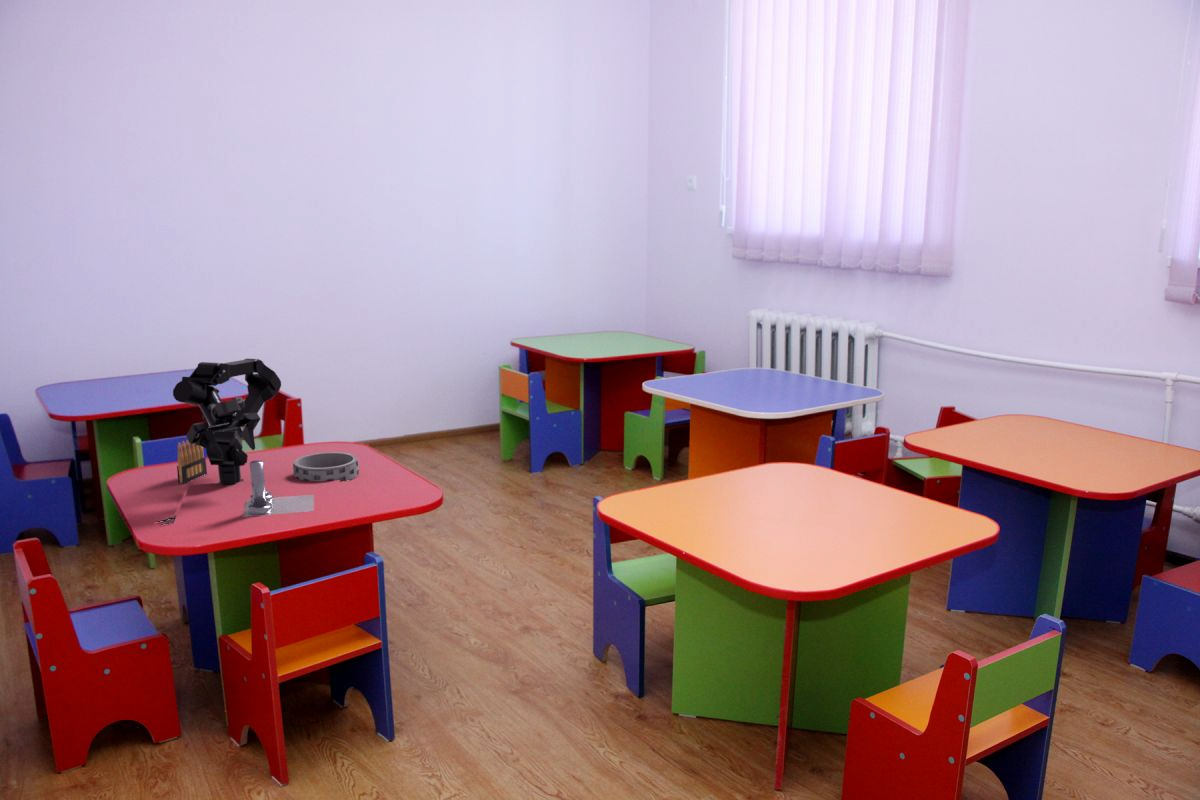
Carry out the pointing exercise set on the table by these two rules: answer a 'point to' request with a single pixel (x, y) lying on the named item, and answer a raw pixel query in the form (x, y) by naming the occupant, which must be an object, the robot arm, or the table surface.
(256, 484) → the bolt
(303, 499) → the plate
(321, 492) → the table surface
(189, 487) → the table surface
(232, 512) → the table surface
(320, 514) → the table surface
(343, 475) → the ring
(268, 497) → the grey metal knob
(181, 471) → the ammunition clip
